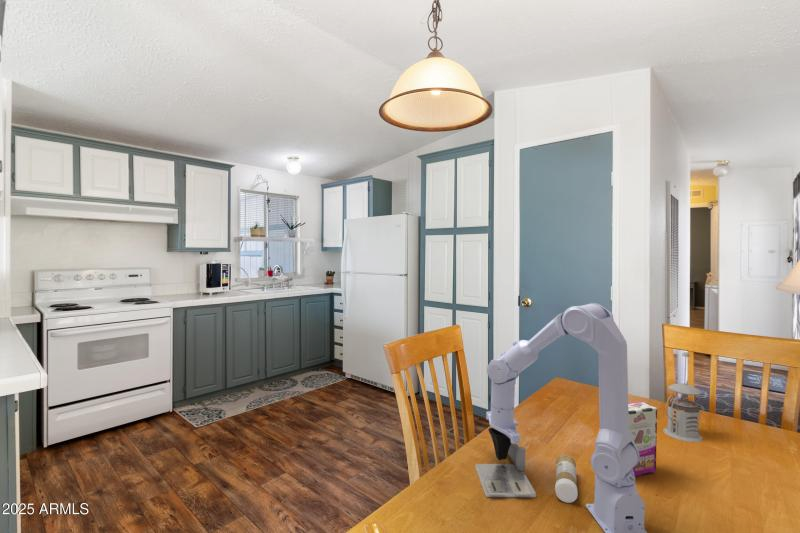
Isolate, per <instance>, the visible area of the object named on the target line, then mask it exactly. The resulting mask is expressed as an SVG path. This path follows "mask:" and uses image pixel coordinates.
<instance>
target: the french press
mask: <svg viewBox="0 0 800 533" xmlns="http://www.w3.org/2000/svg"><path fill="white" fill-rule="evenodd" d="M682 357H685V361H684V377H686V376H687V375H686V374H687V373H686V372H687V358H689V357H691V356H690V353H689V352H687V351H683V352H682ZM683 381H684V382H683V383H682V382H681V383H680V382H679V383H673V384H670V385H668V387H667V388H668V390H669V391H671V392H673V393H676V394H680V395H683V398H680V397H679V396H676V397H675V398H674V395H673V394H670V396H668V398H667V401H666V402H665V415H666V417H667V423H666V424H667V425H666V427H665V428H663V430H662V431H663V433H664V434H665V435H666V436H669V437H671V438H674V439H676V440H679V441H683V442H691V443H700V442H702V441H703V440H704V439H703V437H702V435H701V434H700V432H699V431H700V428H699V427H700V424H699V423H700V416H701V414H700V409H699V404H698V403H697V402H695V401H692V400H689V399H686V398H685V396H700V395H701V394H702V391H701V390H700V389H699V388H697V387H696V386H693V385H691V384H688V383H686V378H684V380H683ZM669 402H670V403H669Z"/></svg>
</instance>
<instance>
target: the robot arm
mask: <svg viewBox="0 0 800 533" xmlns="http://www.w3.org/2000/svg"><path fill="white" fill-rule="evenodd" d="M567 335H570V336H573V337H574V338H576V339H578V340H580V341H582V342H585V343H586V344H588V345H589V347H591V348H592V349H594V350H595V351H596V352H597V356H598V357H597V358H598V361H597V362H598V364H597V365H598V366H597V367H598V404H599V406H598V408H599V430H598V433H597V436H596V438H595V442H594V444H595V445H594V446H595V447H594V452H593V453H592V455H591V457H590V465H591V468H592V471H593V472H594V495H593V496H594V500H593V501H594V502H593V503H585V508H586V509H587V510H588V512H589V513H590V514H591V516H592V517H593V518H594V520H595V521H596V522H597V524H598V525H599V527H600V528H601V530H603V532H604V533H648V532H647V531H646V529H645V520H646V519H645V516H646V514H645V513H646V505H645V502H644V500H643V498H642V497H641V496H640V494H639V493H638V490H637V487H636V486H637V485H636V476H635V475H634V472H633V467H635V466H636V465H637V464H638V462H639V458H640V456H639V452H638V449H637V448H636V446H635V443H634V435H633V434H632V433H631V432H630V431H629V416H628V403H629V387H628V386H629V382H628V381H629V378H628V375H629V374H628V344H627V341H626V339H625V337H624V335H623V334H622V332H621V330H620V329H619V327H618V325H617V324H616V322H615V319H614V314H613V313H612V312H611V311H609V309H608V308H605V307H604V306H603V305H601V304H599V303H596V302H589V303H587V304H584V305H583V304H582V305H577V306H576V305H575V306H569V307H568V308H567V309H565V311H564V312H561V313H559V314H557V315H556V316H555V317H554V318H553V319H552V320H550V321H549V322H548V323H547V324H546V325H544V327H543V328H541V330H539V331H538V332H537V333H536V334H534V335H533V337H532V338H530V339H529V340H525V339H521V340H515V341H514V342H512V345H513V346H512V347H511V348H509V349H508V350H507V351H502V352H501V353H500V358H494V359H491V360H490V362H489V363H488V365H487V367H486V373H487V376H488V378H489V379H490V380H491V382H490V383H491V387H490V388H491V389H490V392H491V393H490V411H486V413H485V415H486V416H485V419H486V420H487V421H488V422H489V426H490V427H489V428H488V432H489V434H490V437H491V440H492V443H493V447H494V453H495V456H496V459H497V460H498V461H503V460H504V461H505V460H506V459H507V458H508V457H507V456H508V451H509V448H510V445H511V443H512V444H517V445H518V444H521V434H520V433H519V432H518V430H517V426H518V425H519V422H518V421H517V420H515V395H516V394H515V393H516V392H515V390H516V380H517V379H518V377H519V376H520V374H521V372H523V371H524V370H525V369H527V368H528V367H529V366H531V365H532V364H534V363H535V362H536V361H537V360H538V359H539V352H540V351H542V350H543V349H544V348H546V347H547V346H549V345H550V344H552V343H553V342H554V341H556V340H558V339H559V338H561V337H562V336H567Z"/></svg>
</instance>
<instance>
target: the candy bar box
mask: <svg viewBox="0 0 800 533" xmlns="http://www.w3.org/2000/svg"><path fill="white" fill-rule="evenodd" d="M628 416H629V431H630V432H631V433H632V434H633V435H634V443H635V446H636V448H637V449H638V452H639V456H640V458H639V462H638V464H637V465H636V466H635V467H633V472H634V475H635V477H638V476H644V475H649V474H654V473H656V472H657V433H658V432H657V431H658V430H657V429H658V428H657V427H658V408H657V407H656V406H654V405H651V404H649V403H646V402H645V401H637V402H628Z"/></svg>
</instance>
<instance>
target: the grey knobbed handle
mask: <svg viewBox="0 0 800 533" xmlns="http://www.w3.org/2000/svg"><path fill="white" fill-rule="evenodd" d="M526 450H527V449H526V448H525V447H524V446H519V445H518V443H517V444H512V443H511V445H510V448H509V451H508V454H507V456H509V458H510V460H512V462H513V464H515V465H516V469H518V470H523V471H525V470H526Z"/></svg>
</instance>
